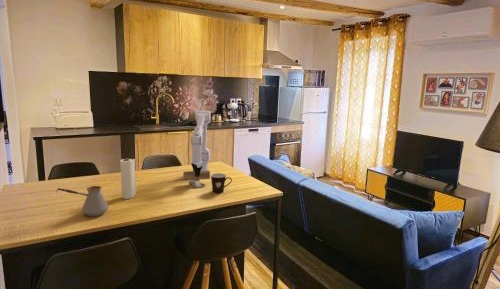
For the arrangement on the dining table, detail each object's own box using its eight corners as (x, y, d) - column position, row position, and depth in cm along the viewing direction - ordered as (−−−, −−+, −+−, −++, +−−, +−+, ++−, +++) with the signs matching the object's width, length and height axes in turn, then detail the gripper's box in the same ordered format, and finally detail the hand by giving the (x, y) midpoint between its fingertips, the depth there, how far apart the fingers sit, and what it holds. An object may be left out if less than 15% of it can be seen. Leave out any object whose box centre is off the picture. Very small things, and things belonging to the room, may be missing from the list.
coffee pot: (106, 207, 166) (105, 178, 163) (110, 215, 157) (108, 185, 154) (58, 214, 156) (55, 184, 153) (58, 224, 146) (55, 192, 143)
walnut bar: (183, 178, 204) (183, 171, 204) (208, 176, 210) (208, 170, 209) (184, 180, 201) (184, 173, 200) (209, 178, 206) (210, 171, 205)
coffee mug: (208, 192, 192) (208, 176, 190) (214, 188, 200) (214, 172, 198) (226, 195, 189) (227, 178, 187) (232, 190, 197) (232, 174, 195)
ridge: (189, 181, 211) (189, 176, 211) (199, 180, 214) (199, 175, 213) (193, 188, 199) (193, 183, 198) (203, 187, 201) (203, 182, 200)
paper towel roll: (121, 199, 177) (119, 161, 172) (122, 195, 182) (120, 158, 178) (135, 198, 179) (134, 160, 174) (136, 194, 184) (134, 158, 180)
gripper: (205, 157, 197) (205, 178, 200) (200, 151, 210) (200, 172, 213) (193, 157, 194) (193, 179, 197) (189, 152, 208) (189, 172, 211)
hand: (196, 175), depth 205 cm, fingers open, 4 cm apart
